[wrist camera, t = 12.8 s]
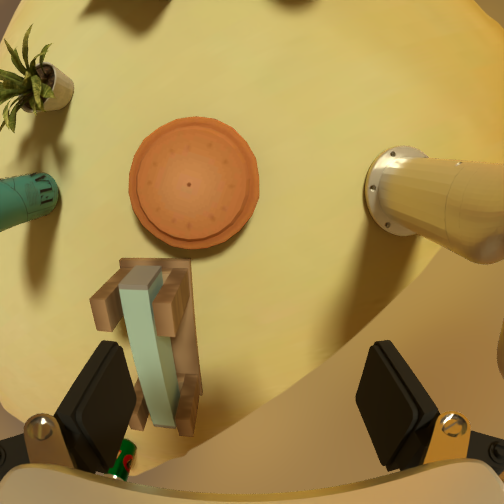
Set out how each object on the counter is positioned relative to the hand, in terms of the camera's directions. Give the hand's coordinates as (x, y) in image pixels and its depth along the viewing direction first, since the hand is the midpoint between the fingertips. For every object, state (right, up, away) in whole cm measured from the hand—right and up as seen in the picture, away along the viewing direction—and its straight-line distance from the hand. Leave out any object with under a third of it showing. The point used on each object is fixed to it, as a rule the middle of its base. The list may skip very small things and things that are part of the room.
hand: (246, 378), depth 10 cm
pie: (-7, +13, +26) cm, 30 cm away
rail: (-13, -9, +29) cm, 33 cm away
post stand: (-13, -8, +32) cm, 35 cm away
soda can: (-28, -39, +41) cm, 64 cm away
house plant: (-29, +27, +21) cm, 44 cm away
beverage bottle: (-30, +13, +25) cm, 41 cm away
